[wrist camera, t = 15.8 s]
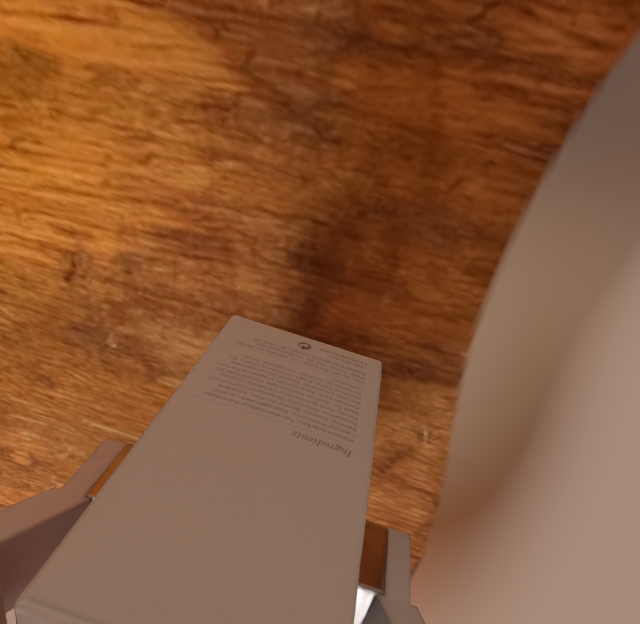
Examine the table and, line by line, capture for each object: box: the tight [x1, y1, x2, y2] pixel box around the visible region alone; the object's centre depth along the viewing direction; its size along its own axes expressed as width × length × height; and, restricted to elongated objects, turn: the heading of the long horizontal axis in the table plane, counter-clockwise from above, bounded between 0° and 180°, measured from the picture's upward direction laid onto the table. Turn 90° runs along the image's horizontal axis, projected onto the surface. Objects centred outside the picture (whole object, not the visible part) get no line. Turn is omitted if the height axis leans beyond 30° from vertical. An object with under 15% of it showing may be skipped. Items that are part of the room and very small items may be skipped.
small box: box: [14, 315, 382, 624], centre depth 10 cm, size 6×4×8 cm
